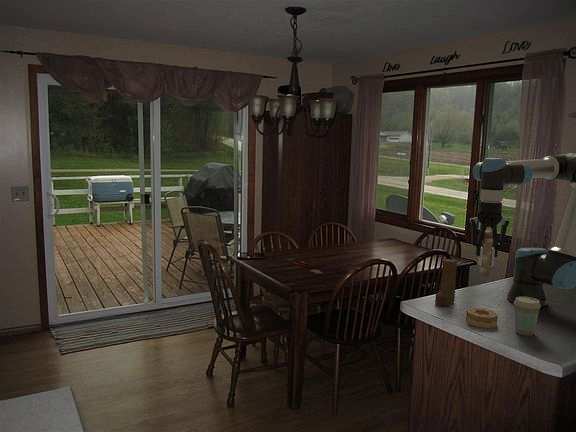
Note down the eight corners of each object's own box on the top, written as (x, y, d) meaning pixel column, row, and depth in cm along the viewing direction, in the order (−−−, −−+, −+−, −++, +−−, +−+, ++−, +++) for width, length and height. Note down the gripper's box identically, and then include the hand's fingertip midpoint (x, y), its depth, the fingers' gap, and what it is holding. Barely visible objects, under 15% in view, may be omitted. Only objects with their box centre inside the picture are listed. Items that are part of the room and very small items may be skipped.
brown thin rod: (470, 308, 194) (470, 307, 194) (473, 308, 194) (473, 307, 194) (476, 317, 183) (476, 316, 183) (480, 317, 183) (480, 316, 183)
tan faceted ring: (491, 318, 182) (492, 308, 182) (499, 328, 173) (500, 317, 172) (464, 316, 184) (465, 306, 183) (470, 326, 174) (470, 315, 174)
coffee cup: (536, 339, 164) (540, 305, 162) (509, 333, 168) (512, 300, 166) (539, 331, 171) (542, 298, 169) (512, 326, 175) (515, 294, 174)
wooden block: (445, 307, 195) (448, 264, 192) (434, 304, 198) (437, 262, 195) (454, 302, 201) (457, 260, 198) (444, 299, 204) (447, 258, 202)
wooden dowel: (488, 274, 177) (492, 231, 175) (491, 276, 174) (494, 233, 171) (478, 273, 178) (482, 230, 175) (480, 275, 174) (484, 232, 172)
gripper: (512, 201, 174) (506, 264, 177) (464, 199, 177) (460, 261, 180) (518, 203, 167) (512, 269, 170) (469, 201, 169) (464, 266, 173)
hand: (485, 265), depth 175 cm, fingers closed on wooden dowel, 3 cm apart
